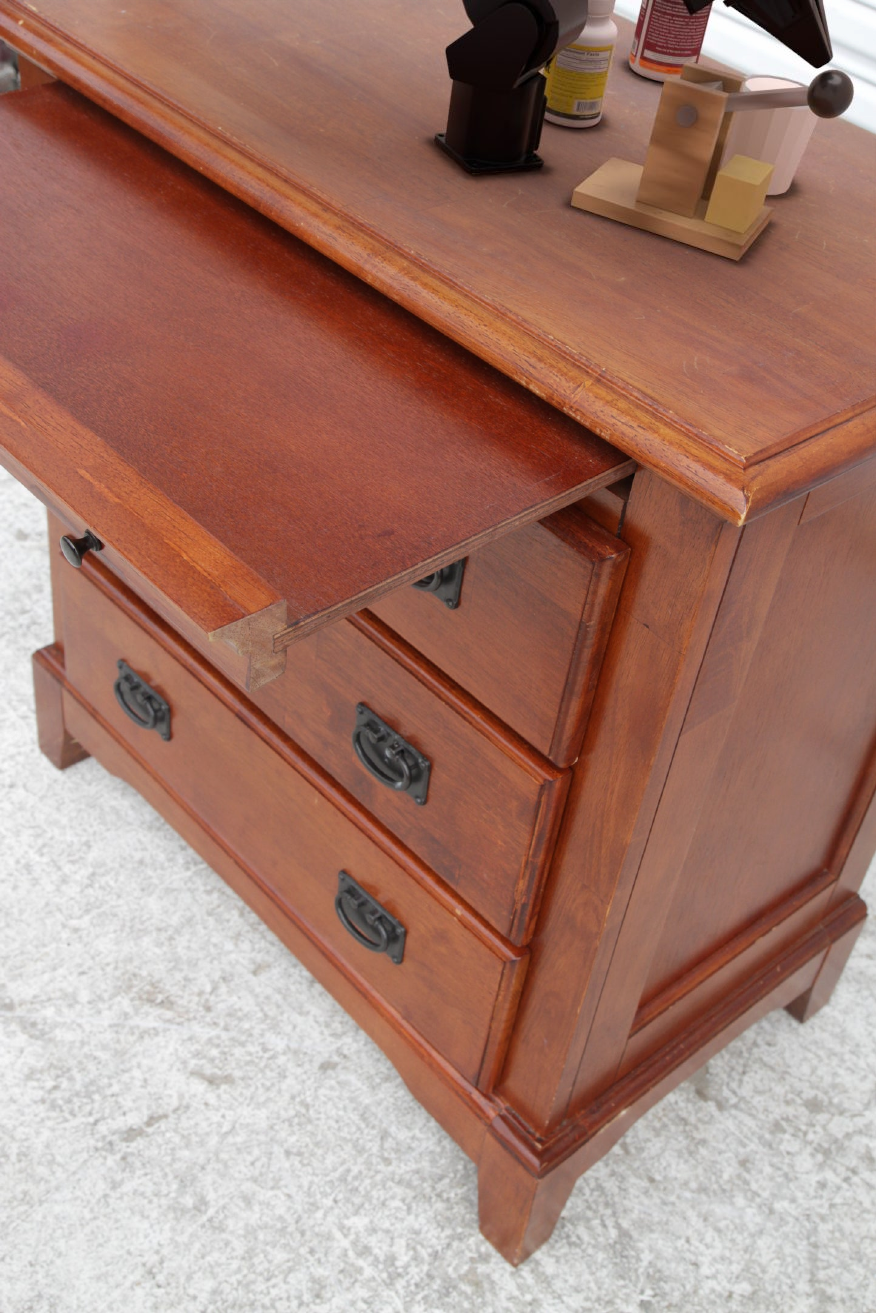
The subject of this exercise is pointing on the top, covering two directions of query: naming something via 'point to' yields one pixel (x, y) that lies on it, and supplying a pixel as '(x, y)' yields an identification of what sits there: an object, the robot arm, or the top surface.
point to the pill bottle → (667, 38)
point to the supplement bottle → (583, 71)
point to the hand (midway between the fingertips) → (825, 64)
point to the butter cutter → (676, 168)
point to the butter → (739, 193)
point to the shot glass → (772, 133)
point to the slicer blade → (797, 96)
